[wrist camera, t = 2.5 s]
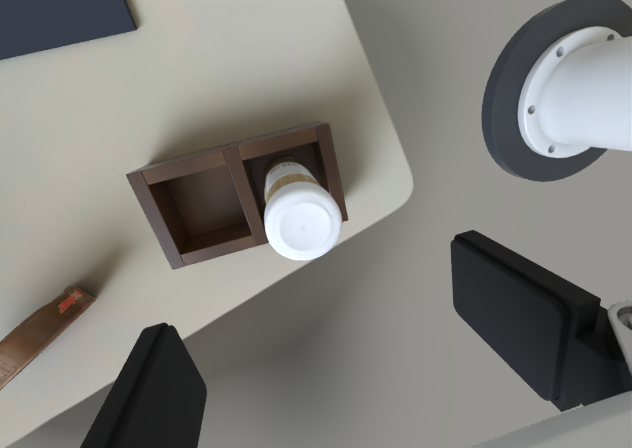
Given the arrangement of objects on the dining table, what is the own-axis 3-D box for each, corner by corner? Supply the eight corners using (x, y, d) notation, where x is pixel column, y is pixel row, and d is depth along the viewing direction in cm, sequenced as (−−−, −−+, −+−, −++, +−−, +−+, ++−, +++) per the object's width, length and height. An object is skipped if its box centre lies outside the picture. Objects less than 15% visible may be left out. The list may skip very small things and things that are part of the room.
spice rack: (319, 121, 28) (329, 122, 24) (337, 206, 31) (348, 220, 27) (146, 165, 27) (125, 174, 23) (184, 248, 30) (172, 270, 26)
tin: (21, 371, 32) (-57, 453, 24) (-10, 356, 31) (-101, 439, 23) (112, 284, 30) (60, 344, 22) (83, 266, 29) (18, 321, 21)
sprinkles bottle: (264, 201, 29) (266, 266, 17) (262, 155, 28) (262, 189, 15) (309, 199, 30) (342, 260, 18) (310, 154, 29) (346, 187, 16)
